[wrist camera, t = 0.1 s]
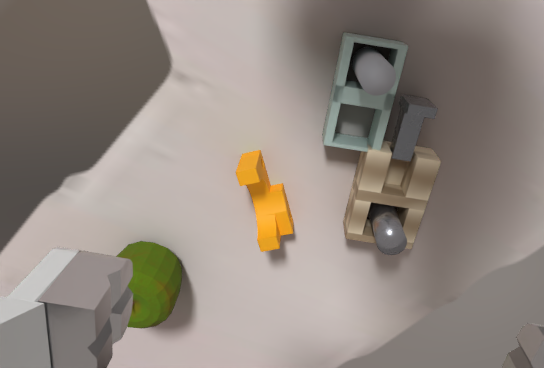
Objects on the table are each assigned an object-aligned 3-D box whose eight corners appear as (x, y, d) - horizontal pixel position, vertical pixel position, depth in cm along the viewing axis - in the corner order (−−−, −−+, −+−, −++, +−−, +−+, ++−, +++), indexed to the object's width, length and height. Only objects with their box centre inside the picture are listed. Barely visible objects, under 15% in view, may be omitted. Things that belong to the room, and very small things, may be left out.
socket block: (404, 231, 63) (411, 249, 59) (343, 221, 63) (345, 238, 59) (431, 148, 57) (441, 161, 53) (364, 137, 57) (368, 149, 53)
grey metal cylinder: (370, 192, 61) (380, 227, 52) (395, 196, 61) (410, 232, 52) (364, 214, 62) (373, 252, 54) (389, 218, 62) (402, 257, 54)
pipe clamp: (293, 221, 64) (292, 246, 58) (265, 227, 64) (261, 251, 59) (272, 146, 59) (269, 165, 53) (242, 153, 60) (235, 172, 54)
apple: (107, 243, 68) (73, 288, 58) (169, 226, 65) (145, 270, 56) (138, 298, 72) (111, 349, 62) (198, 284, 70) (180, 334, 60)
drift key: (409, 155, 57) (418, 169, 52) (385, 151, 57) (392, 165, 52) (427, 98, 53) (437, 108, 49) (401, 94, 53) (409, 104, 49)
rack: (343, 32, 52) (350, 42, 43) (401, 41, 52) (420, 53, 43) (322, 134, 58) (325, 161, 49) (374, 142, 57) (386, 171, 49)
